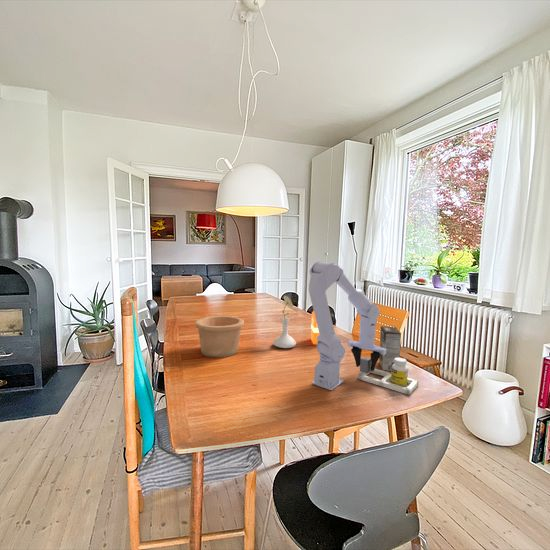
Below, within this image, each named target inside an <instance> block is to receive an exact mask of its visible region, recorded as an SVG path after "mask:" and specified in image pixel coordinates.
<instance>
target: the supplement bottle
mask: <svg viewBox="0 0 550 550" xmlns="http://www.w3.org/2000/svg"><path fill="white" fill-rule="evenodd" d="M408 367H409V366H407V359H406V358H402V357H399V358H395V359H394V364H393V365H392V371H390V373H391V380H390V383H392V384H396V385H399V386H402V387H405V388H407V387H408V383H407V378H409V377H408V375H409V374H408V373H409V368H408Z"/></svg>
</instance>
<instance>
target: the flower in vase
mask: <svg viewBox="0 0 550 550" xmlns="http://www.w3.org/2000/svg"><path fill="white" fill-rule="evenodd" d="M283 299H284V302H285V305H284V308H283V309H282V314H283V317H280V321H281V323H282V333H281V334H280V335H279V336H277V337H276V338H275V339H274V340H273V343H272V344H273V346H275V347H277V348H280V349H291V348H294V347H295V346H296V345H297V342H296V340H295V339H294V338H293V337H292V336H290V335H289V334H288V333H289V332H288V325H289V322H290V320H291V318H288V317H286V316H287V315H289V312H287V313H286V314H285V309H286V307H288V308H289V309H291V310H294V304H293V302H292V299H290V297H289V296H286V295H283Z"/></svg>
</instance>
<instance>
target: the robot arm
mask: <svg viewBox="0 0 550 550" xmlns="http://www.w3.org/2000/svg"><path fill="white" fill-rule="evenodd" d="M309 274H310V275H309V276H310V277H309V283H308V293H309V296H310V297H309V298H310V302H311V306H312V309H313V311H314V314H315V318H316V322H317V326H318V330H319V334H320V335H318V337H317V344H316V351H317V352H318V353H319V361H318V363H317V364H316V365H315V366H314V379H313V381H312V382H311V384H312V385H315V386H318V387H320V388H323V389H326V390H329V391H333V390H334V389H336V388H337V387H338V386H341V384H342V383H344V380H343V379H341V378H340V374H341V373H340V372H341V370H340V368H341V362H342V360H343V359H344V357H345V354H346V348H345V347H344V345H343V344H342V341H341V339H340V338H339V336H338V335H337V334H336V332H335V328H334V323H333V320H332V319H333V318H332V314H331V310H330V306H329V303H328V297H327V294H326V291H328V289H329V288H330V287H331V286H332V285H333V284H334V283H336V285H338V286H339V287H340V288H341V289H342V290H343V291H344V292H345V293H346V294H347V300H348V301H349V302H350V303H351V304H352V305H353V306H354V307H355V309H356V312H357V315H359V316H360V319H359V335H358V336H359V337H358V341H355V340H351V339H350V340H348V341H347V346H348V347H349V348H350V347H352V348H351V349H350V351H351V353H352V356H353V358H354V361H355V366H356V367H357V368H360V359H361V358H362V351H363V350H364V351H369V352H371V353H370V358H371V371H374V370H375V369H376V366H377V363H378V362H379V357H380V355H381V354H382V355H385V354H386V349H385V348H382V347H380V345H377V344H375V341H376V325H377V321H378V318H379V316H380V314H381V310H380V309H379V306H378V305H376V304H375V303H373V302H372V300H371V299H370V298H368V296H367V295H366V294H365V291H364V290H363V289H360V288H355V285H353V284H352V282H351V281H350V280H349V278H348V277H347V275H346V274H345V273H344V269H343V268H342V267H340V265H339V264H338V263H335V262H325V261H316V262H315V263H314V264H313V265H312V266H311V268H310V269H309Z"/></svg>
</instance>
